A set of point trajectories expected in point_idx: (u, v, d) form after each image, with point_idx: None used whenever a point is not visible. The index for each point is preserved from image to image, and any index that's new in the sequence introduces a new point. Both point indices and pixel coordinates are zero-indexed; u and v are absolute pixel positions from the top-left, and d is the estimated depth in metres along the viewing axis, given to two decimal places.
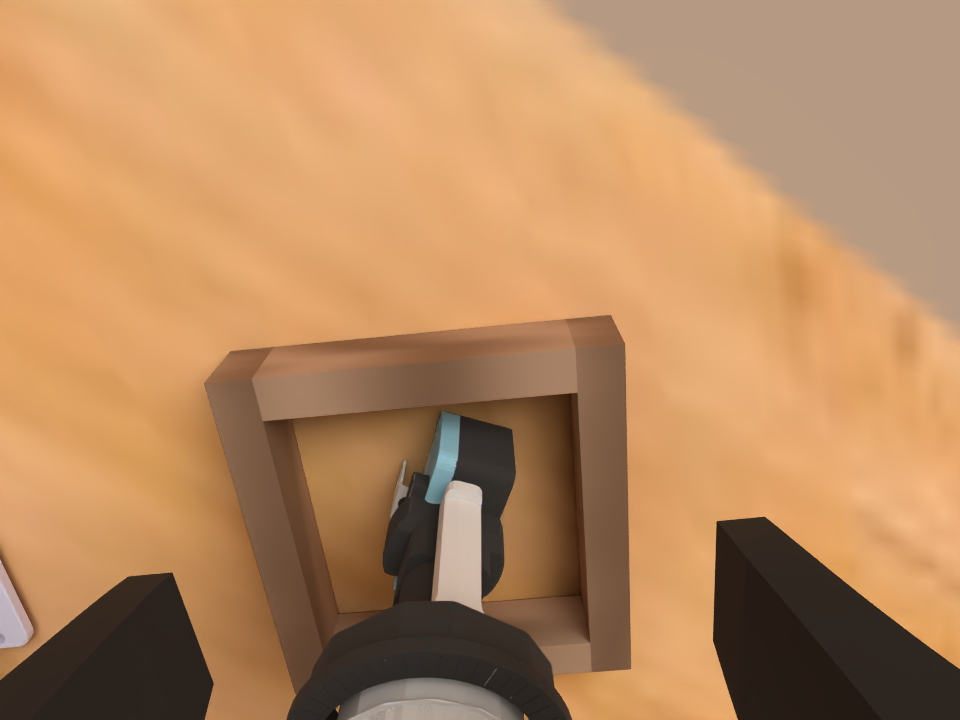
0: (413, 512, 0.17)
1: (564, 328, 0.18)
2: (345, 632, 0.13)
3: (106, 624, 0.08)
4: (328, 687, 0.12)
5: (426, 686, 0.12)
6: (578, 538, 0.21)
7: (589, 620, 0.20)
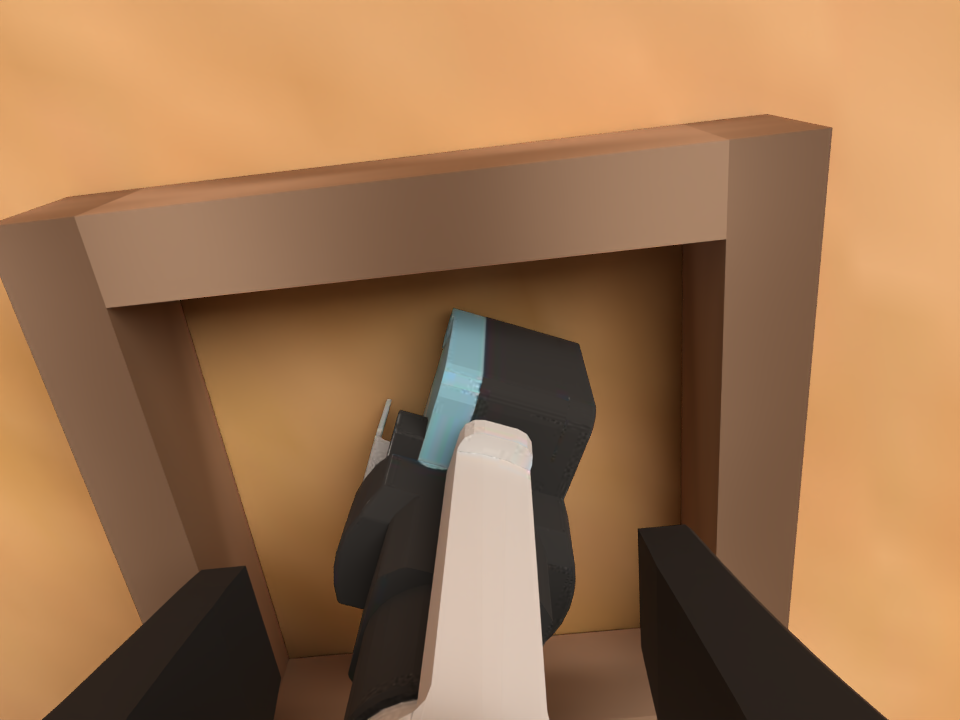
0: (393, 483, 0.09)
1: (687, 129, 0.09)
2: None
3: (190, 617, 0.08)
4: None
5: None
6: None
7: None
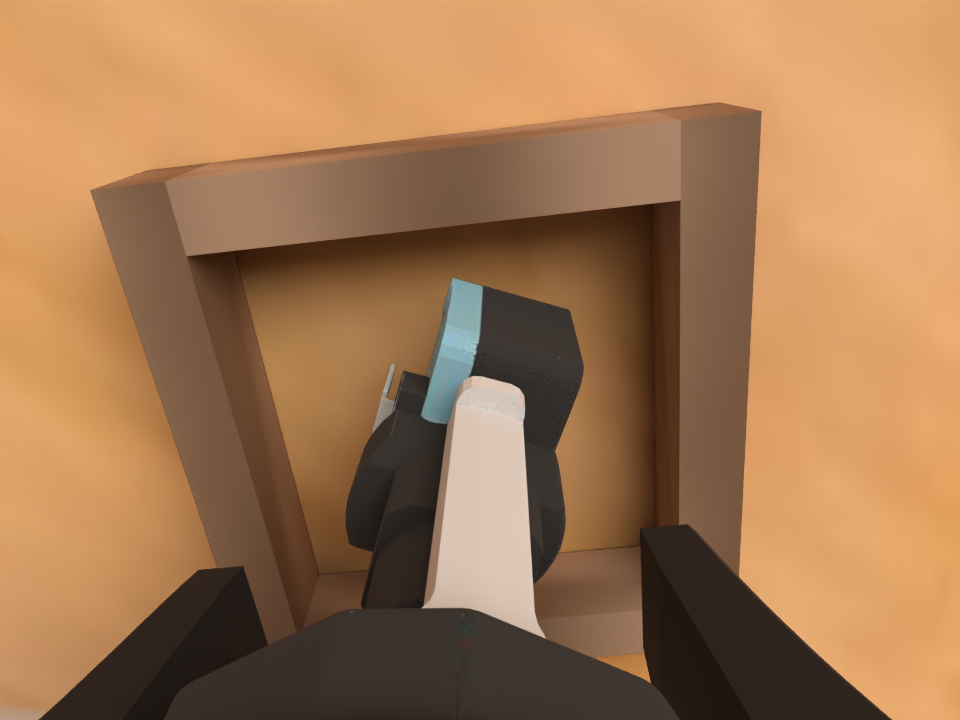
0: (398, 435, 0.09)
1: (653, 114, 0.12)
2: (205, 686, 0.05)
3: (188, 617, 0.08)
4: None
5: None
6: (656, 460, 0.15)
7: None
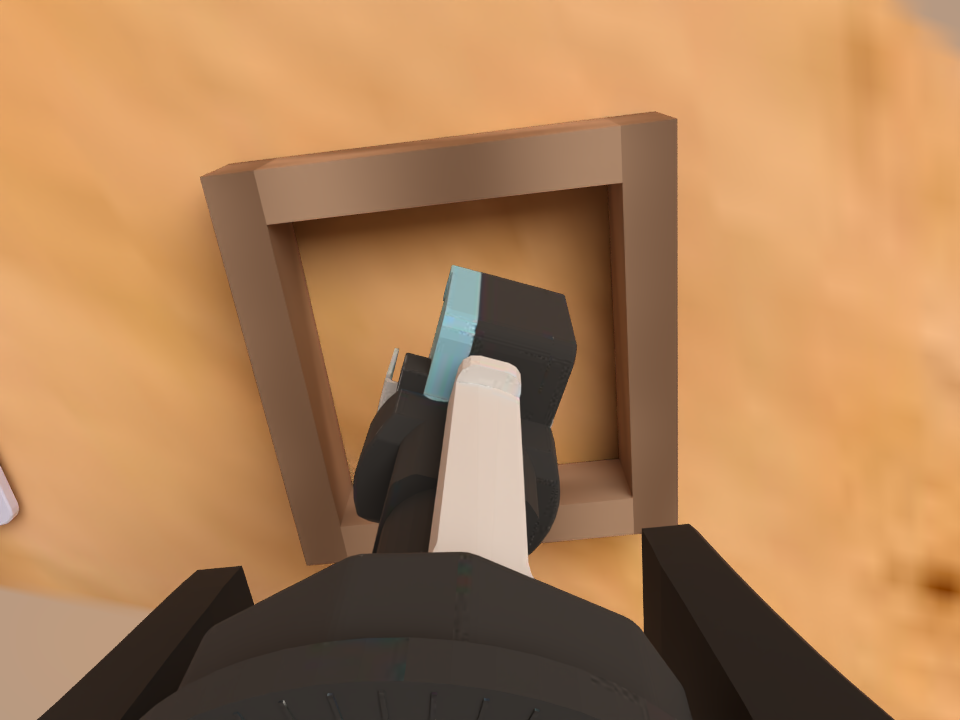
0: (402, 412, 0.10)
1: (604, 120, 0.16)
2: (230, 624, 0.06)
3: (186, 617, 0.08)
4: None
5: None
6: (616, 388, 0.19)
7: (632, 471, 0.18)
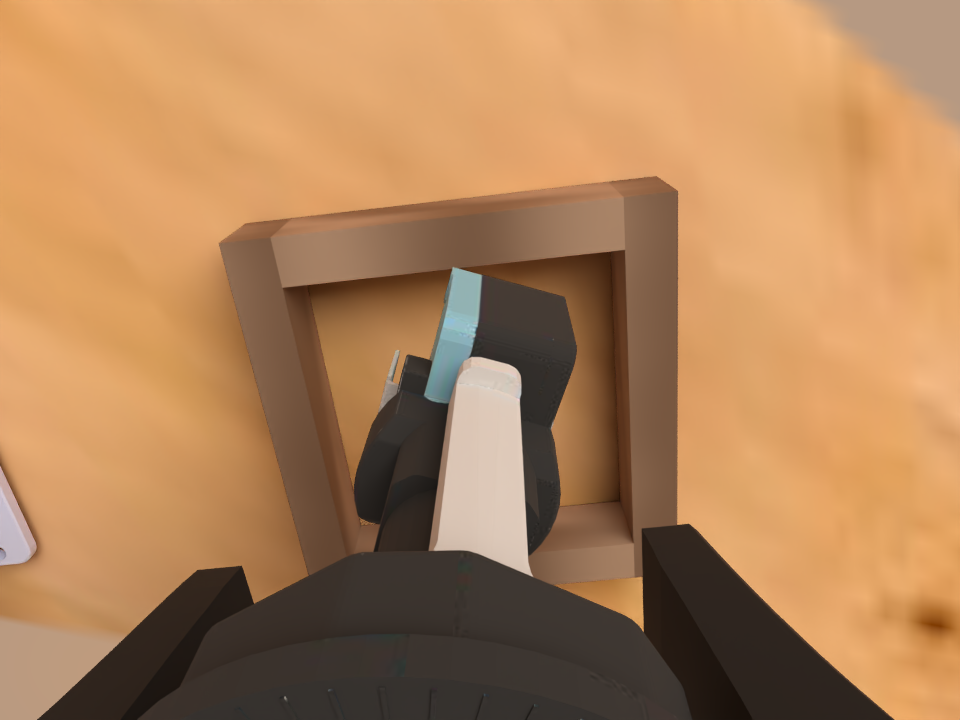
0: (403, 413, 0.10)
1: (608, 186, 0.17)
2: (232, 621, 0.06)
3: (187, 617, 0.08)
4: None
5: None
6: (618, 435, 0.20)
7: (633, 518, 0.19)
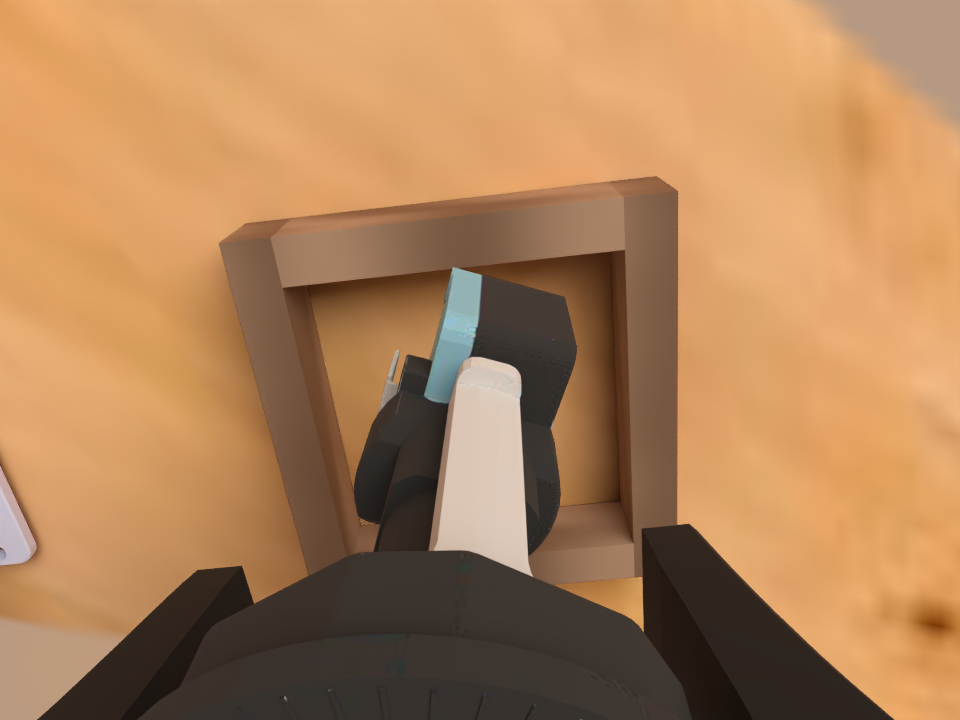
0: (403, 413, 0.10)
1: (608, 186, 0.17)
2: (232, 621, 0.06)
3: (187, 617, 0.08)
4: None
5: None
6: (618, 435, 0.20)
7: (633, 518, 0.19)
